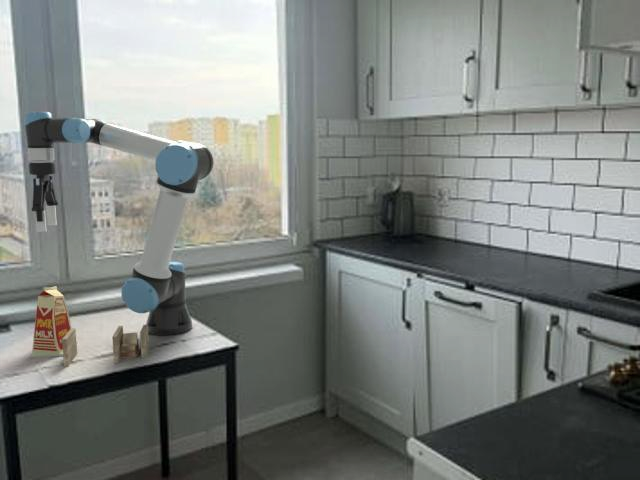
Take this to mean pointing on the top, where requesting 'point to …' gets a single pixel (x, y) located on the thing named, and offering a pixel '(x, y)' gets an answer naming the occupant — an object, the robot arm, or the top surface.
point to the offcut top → (130, 339)
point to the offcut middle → (129, 347)
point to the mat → (44, 354)
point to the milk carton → (50, 322)
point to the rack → (71, 344)
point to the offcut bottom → (130, 353)
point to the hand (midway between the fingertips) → (47, 228)
